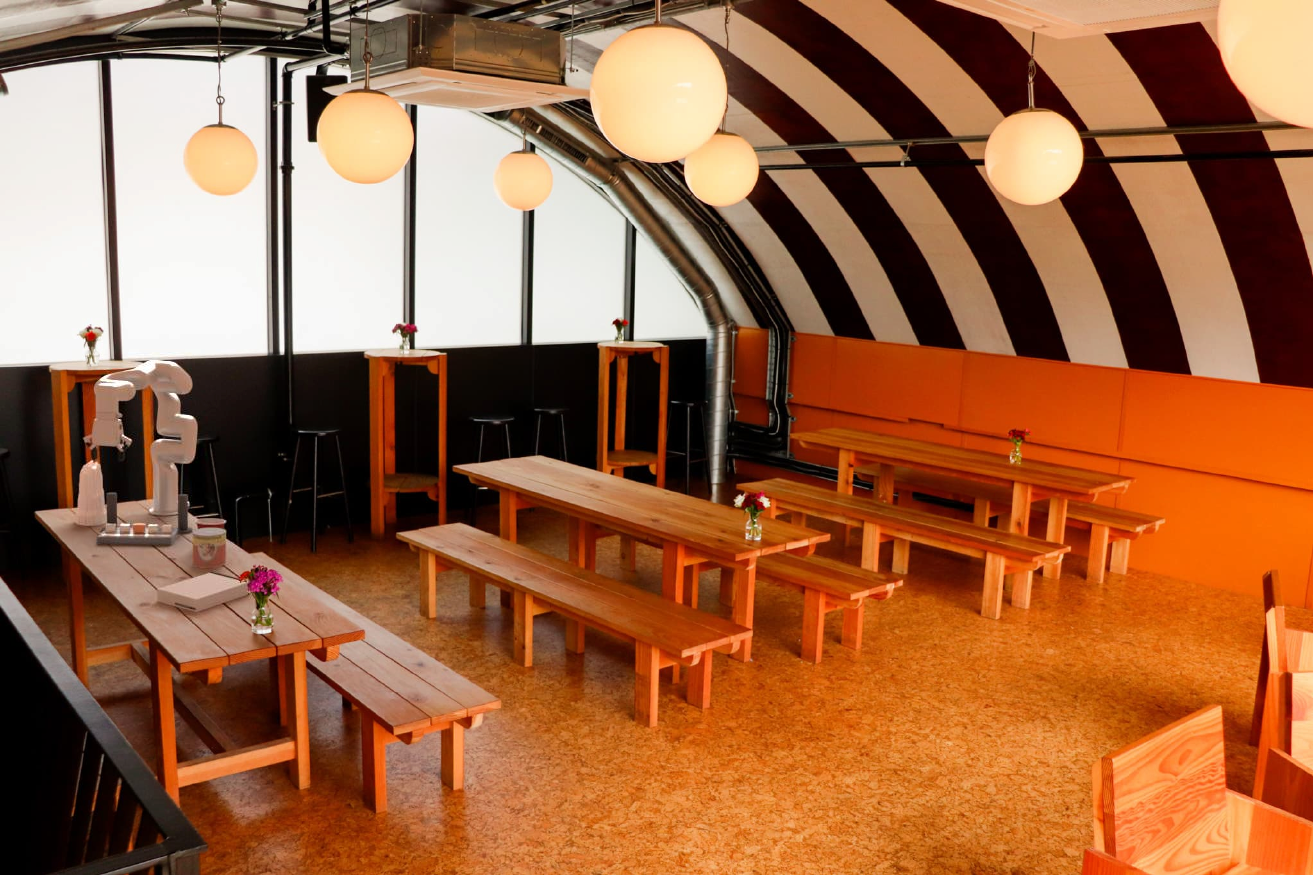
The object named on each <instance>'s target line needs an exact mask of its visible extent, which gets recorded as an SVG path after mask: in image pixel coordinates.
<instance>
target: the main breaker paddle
mask: <svg viewBox="0 0 1313 875" xmlns="http://www.w3.org/2000/svg"><path fill="white" fill-rule="evenodd" d="M132 528H133V532H145V531H146V528H147V527H146V523H140V522H139V523H133V524H132Z"/></svg>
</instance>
